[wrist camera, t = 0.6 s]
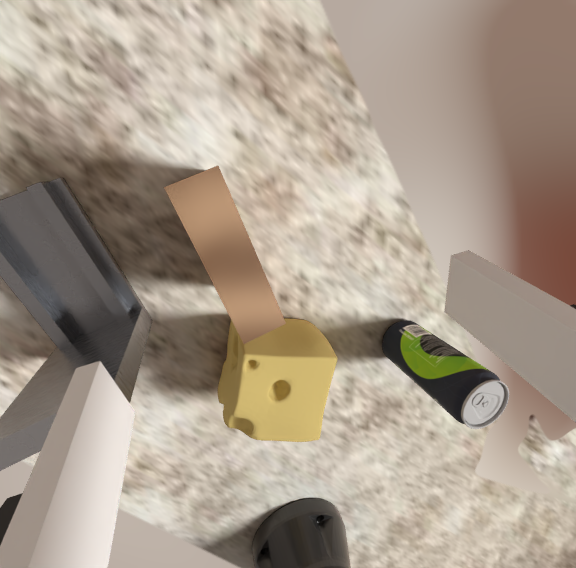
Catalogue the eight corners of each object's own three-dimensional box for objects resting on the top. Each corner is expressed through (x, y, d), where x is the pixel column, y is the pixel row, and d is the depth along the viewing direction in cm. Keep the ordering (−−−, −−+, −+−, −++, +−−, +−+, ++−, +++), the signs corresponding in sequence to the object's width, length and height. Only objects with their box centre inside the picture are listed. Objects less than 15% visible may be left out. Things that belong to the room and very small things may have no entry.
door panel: (253, 273, 37) (286, 323, 24) (225, 286, 37) (244, 344, 24) (207, 171, 32) (218, 165, 20) (174, 184, 32) (164, 187, 19)
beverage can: (371, 345, 45) (449, 418, 31) (398, 310, 44) (490, 368, 31) (398, 363, 47) (482, 438, 34) (424, 330, 47) (521, 393, 33)
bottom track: (152, 320, 35) (128, 407, 22) (72, 357, 34) (-6, 473, 21) (63, 177, 29) (-48, 176, 16) (-39, 216, 28) (-255, 251, 14)
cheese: (216, 387, 40) (223, 448, 31) (229, 307, 37) (242, 349, 28) (293, 388, 44) (320, 443, 34) (310, 315, 41) (345, 354, 32)
